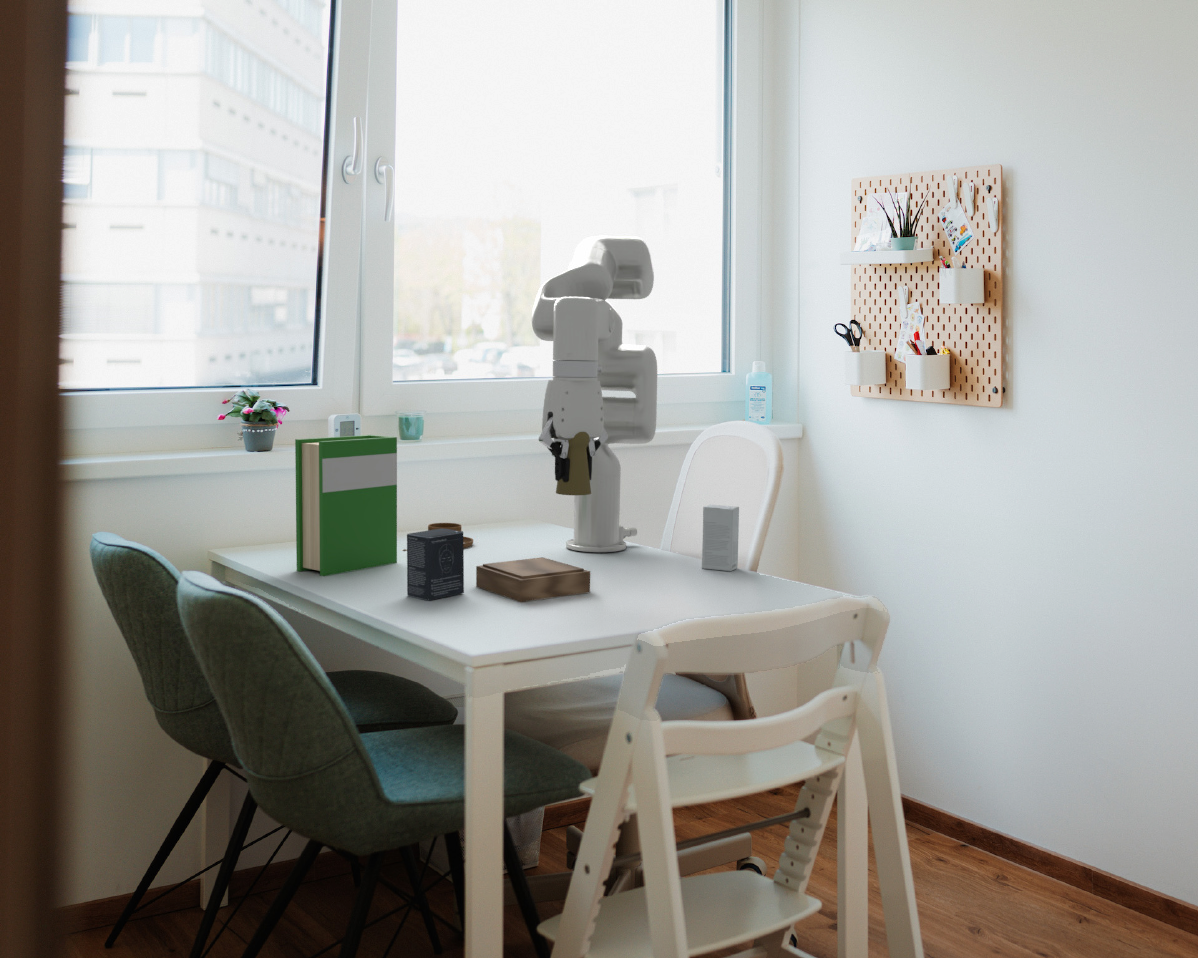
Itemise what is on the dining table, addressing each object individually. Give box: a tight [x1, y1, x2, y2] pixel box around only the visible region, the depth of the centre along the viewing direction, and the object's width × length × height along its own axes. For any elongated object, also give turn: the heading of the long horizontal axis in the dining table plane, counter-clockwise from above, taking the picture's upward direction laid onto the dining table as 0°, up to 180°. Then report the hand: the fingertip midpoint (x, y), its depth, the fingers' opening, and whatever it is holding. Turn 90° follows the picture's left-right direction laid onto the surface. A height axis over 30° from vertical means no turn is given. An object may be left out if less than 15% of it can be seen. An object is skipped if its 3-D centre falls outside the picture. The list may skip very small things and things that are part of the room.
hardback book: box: [294, 434, 398, 577], centre depth 201 cm, size 18×7×24 cm, turn 144°
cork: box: [555, 432, 591, 496], centre depth 183 cm, size 6×6×11 cm
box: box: [406, 528, 465, 601], centre depth 179 cm, size 8×6×11 cm
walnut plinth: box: [475, 557, 591, 603], centre depth 185 cm, size 14×14×4 cm
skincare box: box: [701, 504, 740, 572], centre depth 207 cm, size 6×4×12 cm
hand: (573, 479), depth 183 cm, fingers closed on cork, 4 cm apart
